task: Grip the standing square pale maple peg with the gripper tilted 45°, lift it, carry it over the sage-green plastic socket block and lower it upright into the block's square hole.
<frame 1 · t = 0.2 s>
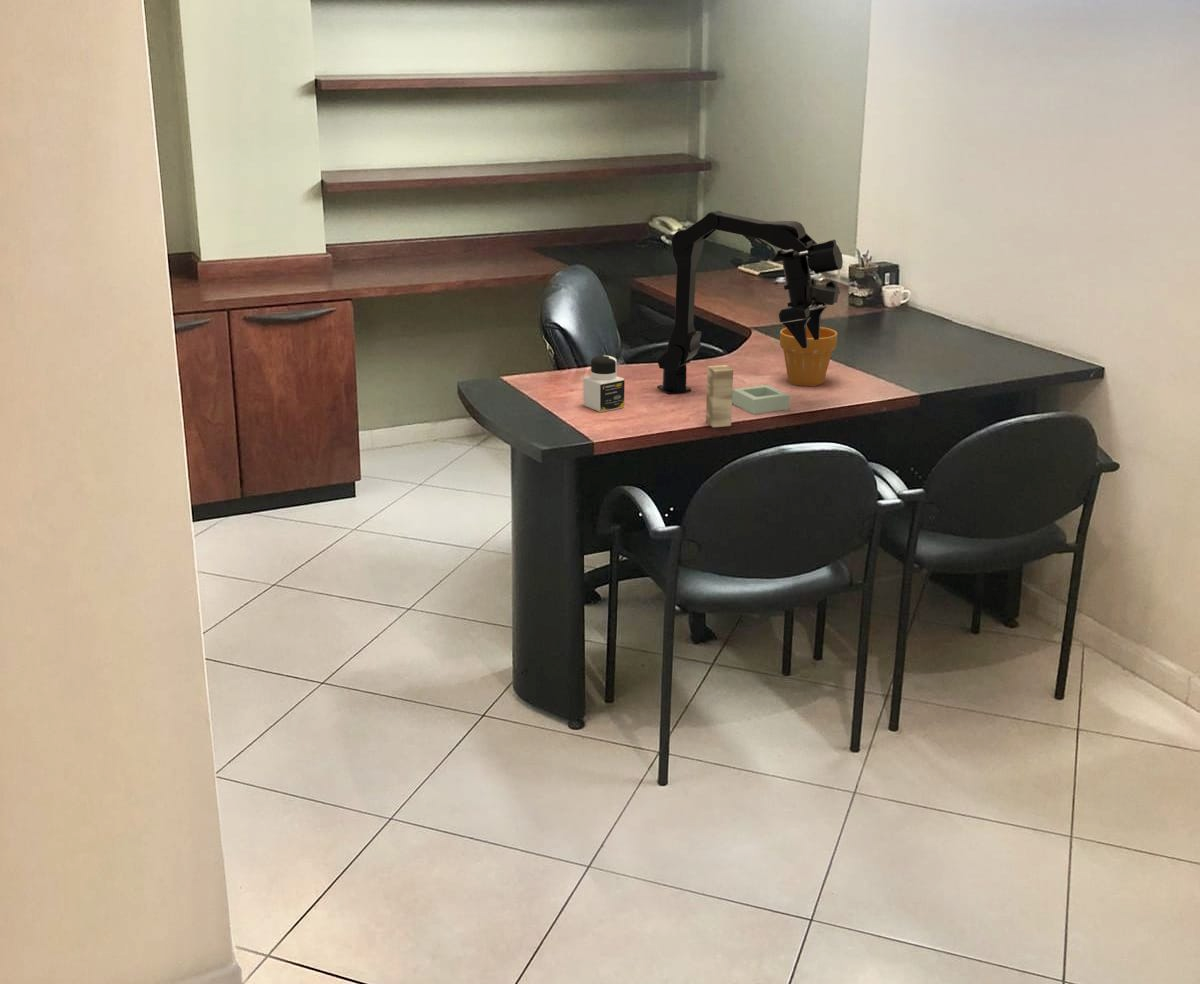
hand: (810, 343, 285), 15 cm above the table, tool pointing down, fingers open, 9 cm apart
maple peg: (718, 423, 278), on the table
socket block: (760, 406, 291), on the table
flower pot: (805, 382, 312), on the table
medicine bottle: (603, 407, 291), on the table
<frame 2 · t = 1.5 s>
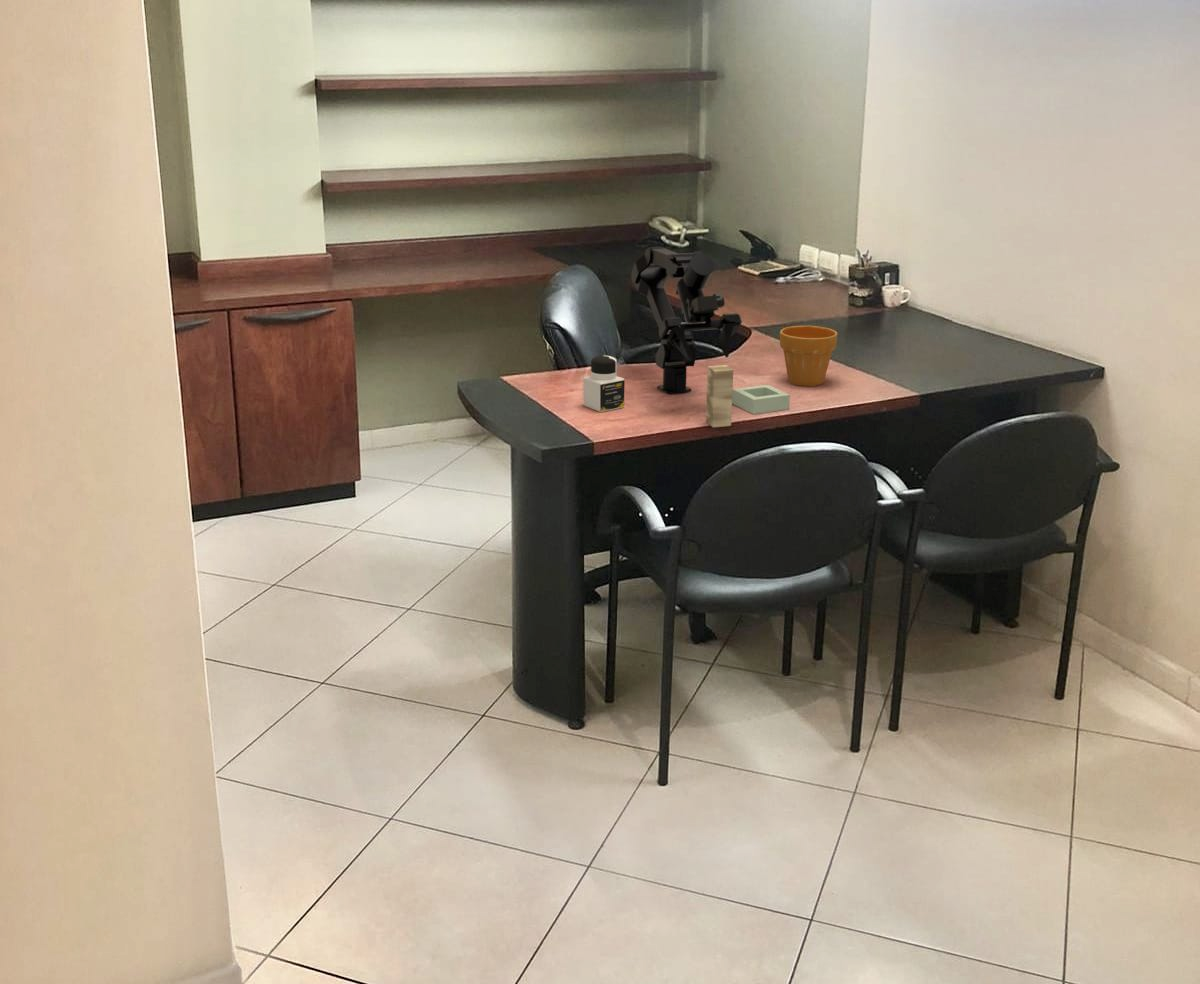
hand: (708, 358, 280), 13 cm above the table, tool tilted 45°, fingers open, 9 cm apart
nothing on the table moved.
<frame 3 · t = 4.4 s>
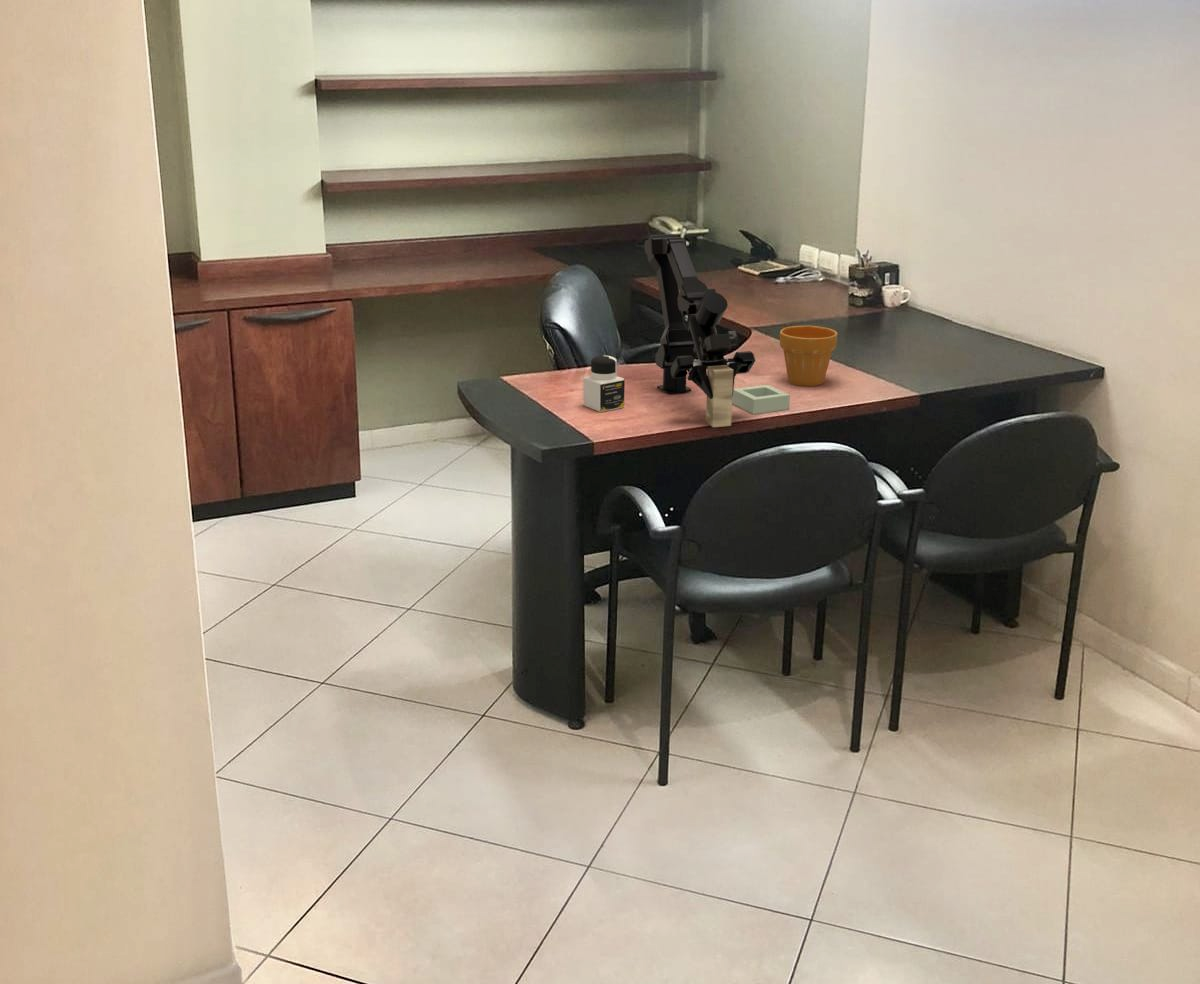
hand: (721, 397, 274), 7 cm above the table, tool tilted 45°, fingers closed on maple peg, 4 cm apart
maple peg: (718, 423, 278), on the table, touching gripper
everything else where it was.
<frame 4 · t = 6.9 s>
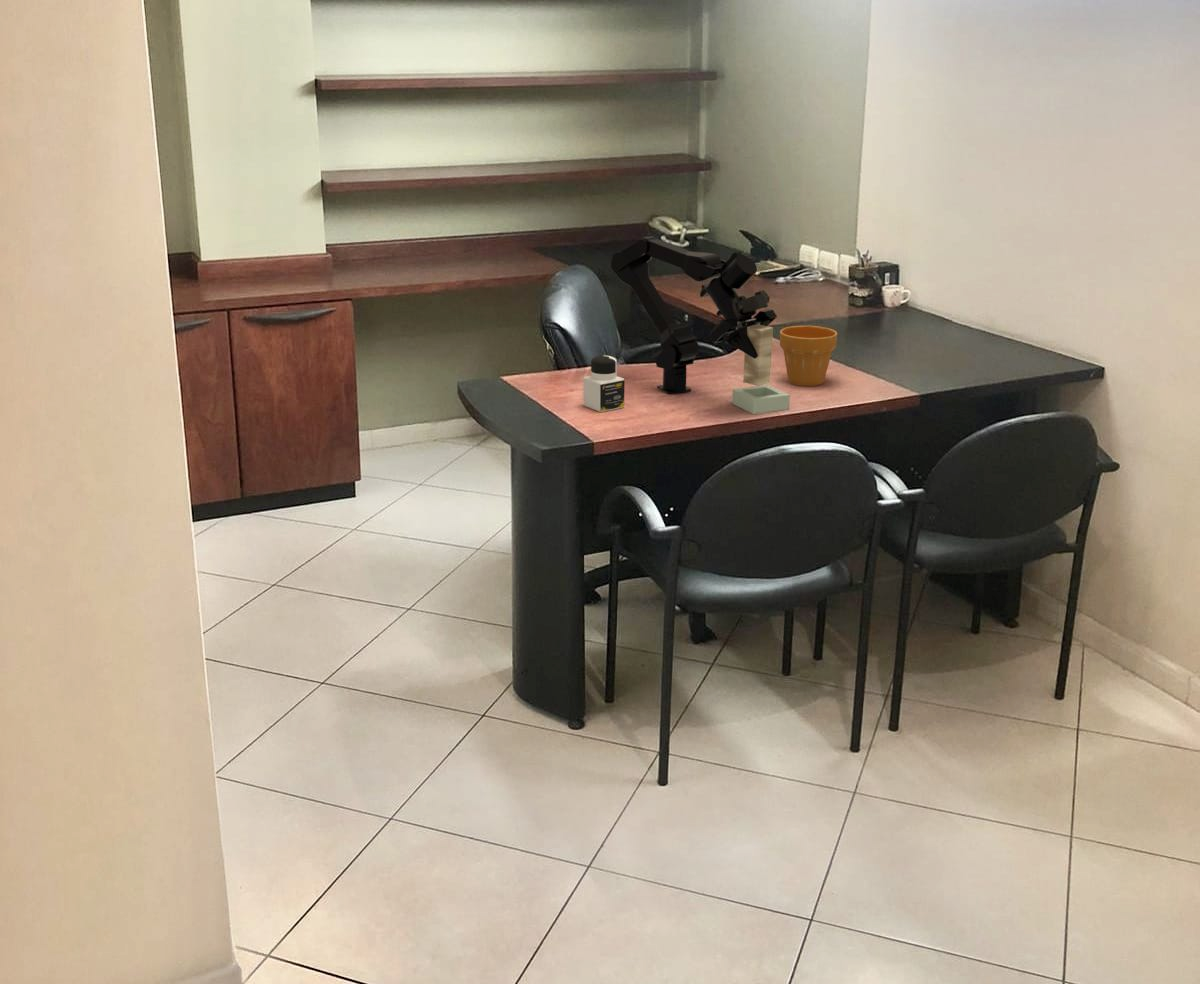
hand: (762, 355, 282), 13 cm above the table, tool tilted 45°, fingers closed on maple peg, 4 cm apart
maple peg: (756, 382, 285), point 7 cm above the table, touching gripper
everything else where it was.
when the fingers open (8 cm above the table, at t = 9.4 s): maple peg drops 1 cm, resting in socket block.
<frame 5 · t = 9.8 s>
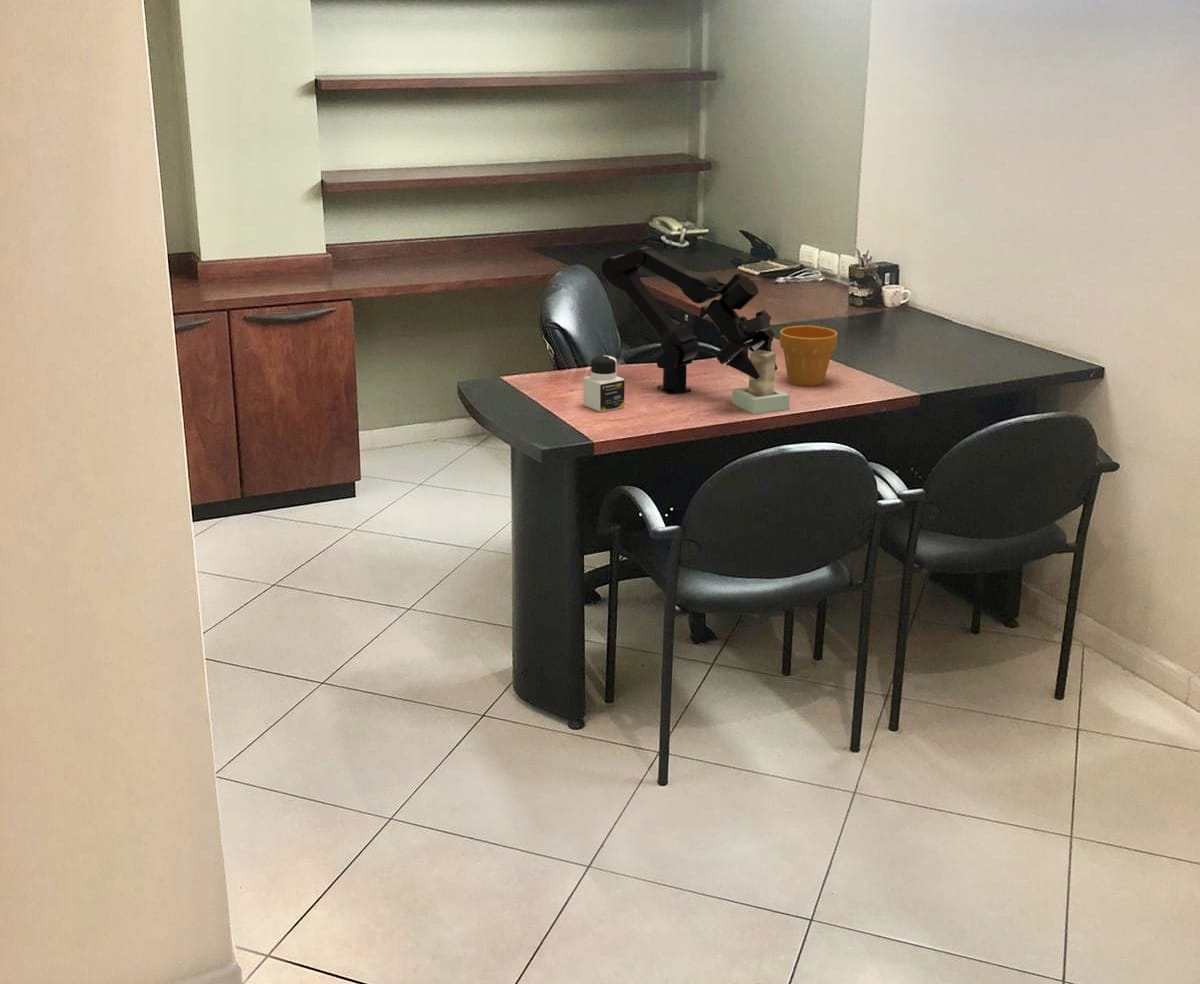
hand: (767, 374, 287), 8 cm above the table, tool tilted 45°, fingers open, 8 cm apart
maple peg: (760, 406, 291), resting in socket block
everything else where it was.
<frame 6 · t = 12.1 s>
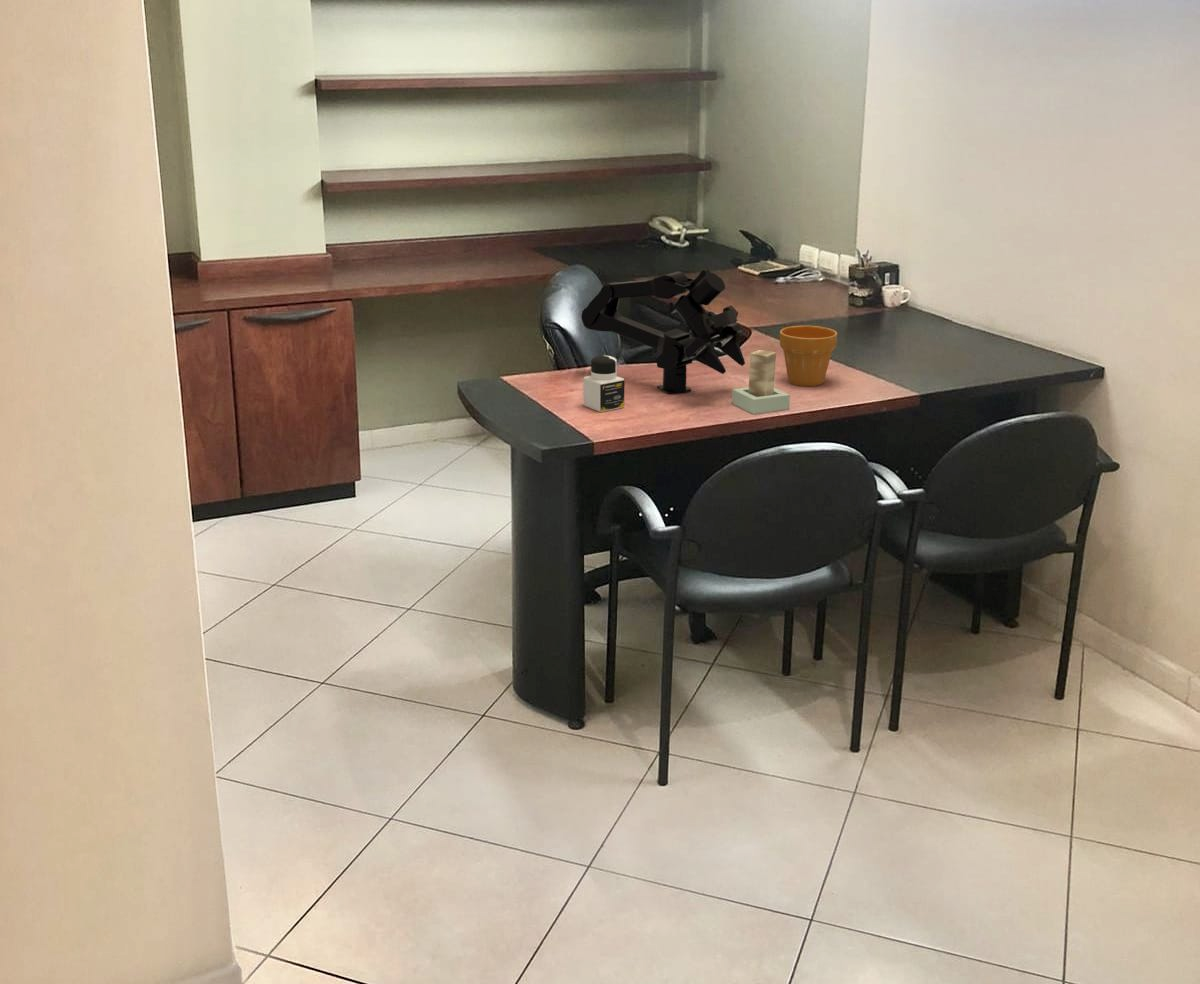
hand: (734, 368, 292), 8 cm above the table, tool tilted 45°, fingers open, 9 cm apart
nothing on the table moved.
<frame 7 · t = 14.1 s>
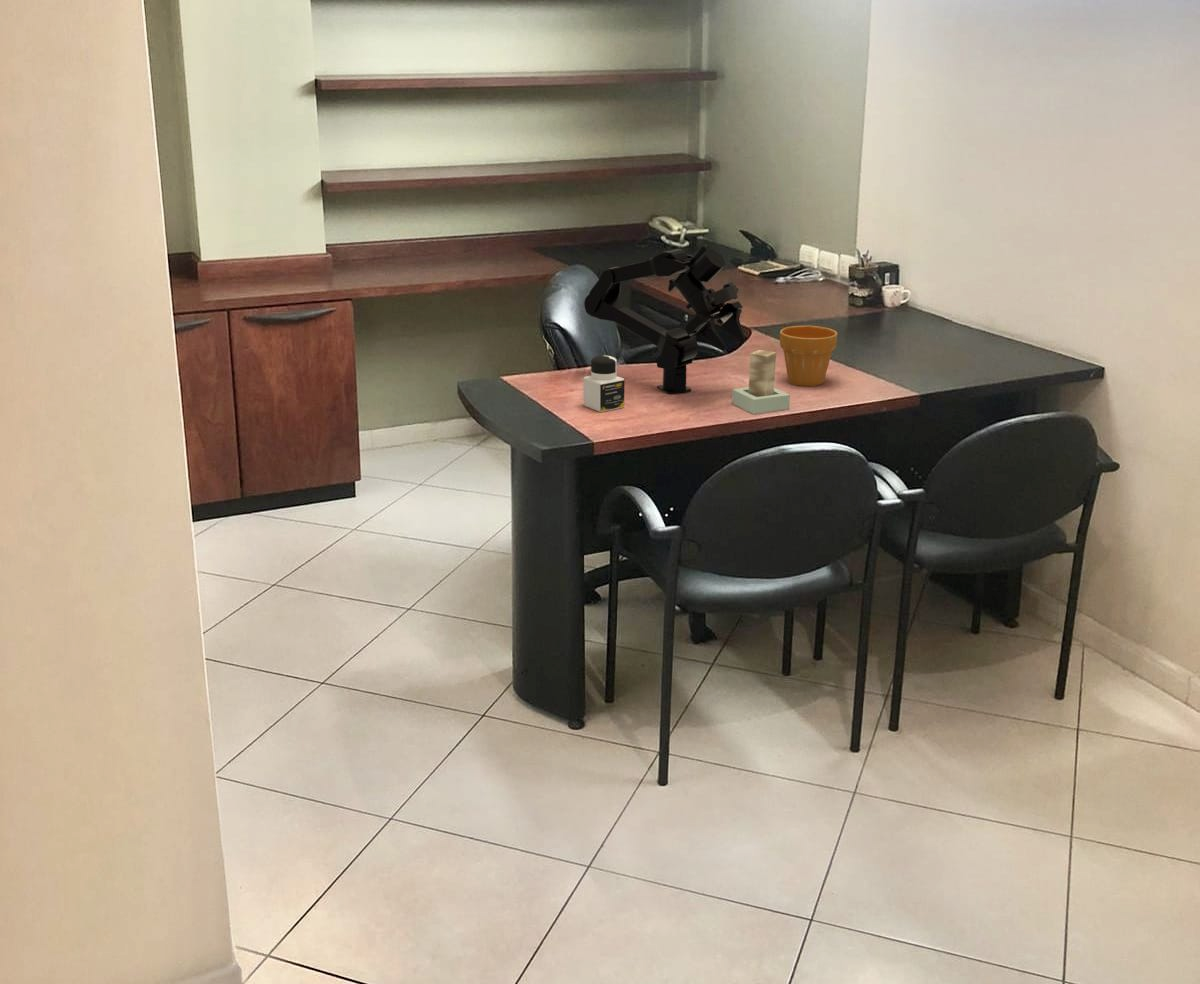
hand: (734, 345, 290), 14 cm above the table, tool tilted 45°, fingers open, 9 cm apart
nothing on the table moved.
at the end: maple peg 0.1 cm off-centre on the socket block, point 0.0 cm above the socket block's base; maple peg tilted 0°; the gripper is holding nothing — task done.
